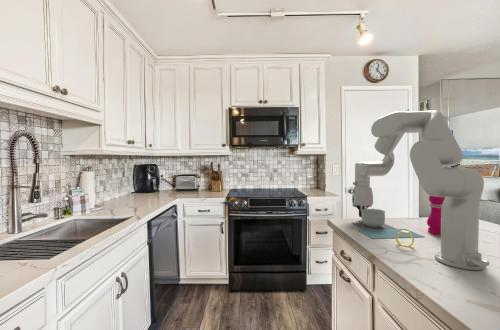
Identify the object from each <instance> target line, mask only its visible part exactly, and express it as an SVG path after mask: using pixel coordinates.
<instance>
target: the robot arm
mask: <svg viewBox="0 0 500 330" xmlns="http://www.w3.org/2000/svg"><path fill="white" fill-rule="evenodd" d="M370 130H371V131H370V132H371V135H372V136H373V137H375V138H377V140H376V142H374V149H375V150H376V151H377V152H378V153H380V154H382V155H383V156H384V157H383V158H382V159H381V161H360V162H359V161H357V162H355V164H354V182H353V181H352V186H353V188H352V194H351V195H352V196H351V203H352V205H351V206H352V207H353V208H357V210H358V217H360V218H361V219H362V215H361V210H364V209H369V208H371V207H372V206H373V204H374V194H373V188H372V186H371V177H384V176H386V175H388V174H389V173H390V171H391V169H393V167H394V165H395V158H396V157H395V153H394V150H395V149H396V147H397V146H398V144H399V142H400V141H401V139H402V138H403V136H404V135H405V134H409V133H411V134H413V133H415V134H416V133H419V134H420V133H421V138H422V140H418V141H416V142H415V143H413V145H412V146H411V148H410V151H409V158H410V162H411V165H412V168H413V170H414V173H415V175H416V177H417V179H418V182H419V184H420V187H422V190H423V191H424V192H425V193H426V194H427V195H429V196H430V195H431V196H434V197H445V199H444V201H443V204H442V209H441V235H440V251H437V252H435V254H434V258H435V260H437V261H438V262H440V263H441V264H445V265H447V266H450V267H453V268H457V269H461V270H462V269H463V270H469V271H480V270H485V269H487V267H488V266H489V265H490V261H487V260H485V259H482V253H480V252H479V234H480V232H479V230H480V229H479V228H480V227H479V225H480V205H481V199H482V195H483V191H484V187H485V181H484V178H483V176H482V174H481V173H480V172H479V171H477V170H476V169H473V168H470V167H469V168H468V167H464V166H463V167H461V166H460V167H457V165H459V164H461V162H463V161H462V160H463V159H464V154H463V153H464V152H463V151H462V148H461V147H460V145H459V143H458V141H457V140H456V139H457V138H455V136H454V134H453V132H452V131H451V129H450V127H449V125H448V123H447V120H446V117H445V115H444V113H442V112H441V111H439V110H435V109H433V110H423V111H422V110H421V111H420V110H419V111H418V110H417V111H415V110H414V111H413V110H412V111H411V110H410V111H409V110H407V111H405V110H403V111H399V110H398V111H394V112H391V113H388V114H386V115H383V116H380V117H379V118H377V119H375V121H373V123H372V125H371V129H370ZM454 166H456V167H454Z"/></svg>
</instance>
